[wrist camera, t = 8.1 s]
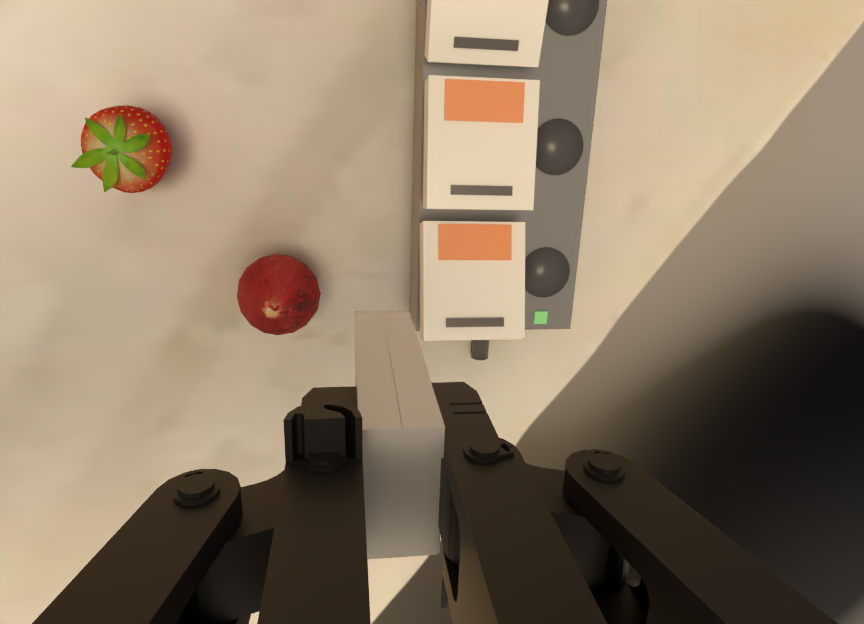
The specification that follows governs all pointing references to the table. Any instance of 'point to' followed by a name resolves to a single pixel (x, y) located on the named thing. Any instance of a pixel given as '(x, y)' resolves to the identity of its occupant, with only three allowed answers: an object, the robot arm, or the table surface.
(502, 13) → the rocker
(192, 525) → the robot arm
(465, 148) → the rocker
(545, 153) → the power strip
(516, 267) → the panel
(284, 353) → the table surface
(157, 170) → the fruit
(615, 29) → the table surface
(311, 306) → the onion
